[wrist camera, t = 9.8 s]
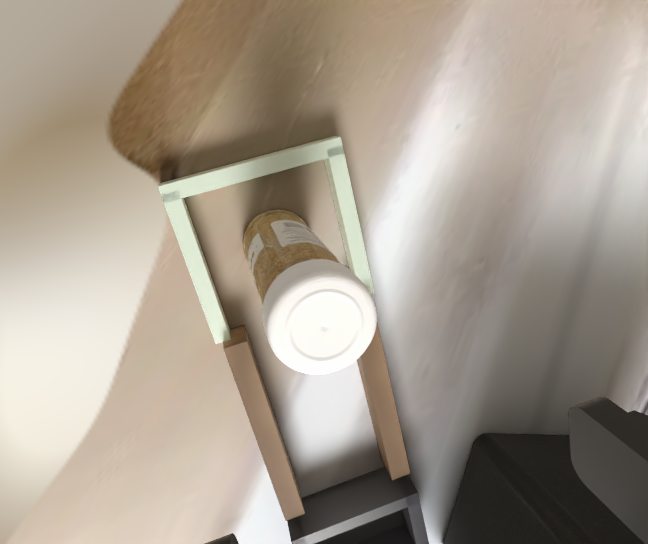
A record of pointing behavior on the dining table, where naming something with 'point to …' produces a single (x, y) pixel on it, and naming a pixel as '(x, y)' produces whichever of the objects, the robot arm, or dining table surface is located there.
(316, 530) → the bin
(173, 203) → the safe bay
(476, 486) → the flower pot
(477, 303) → the dining table surface
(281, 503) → the channel
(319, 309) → the sprinkles bottle
